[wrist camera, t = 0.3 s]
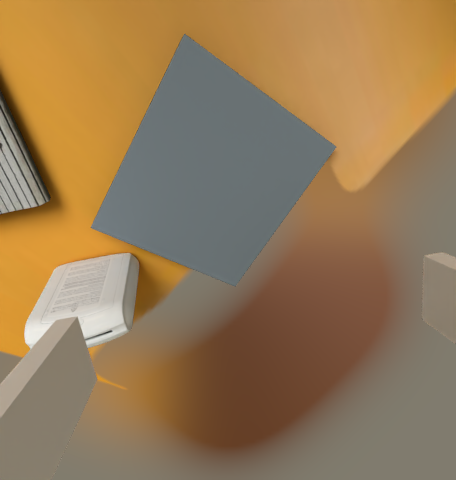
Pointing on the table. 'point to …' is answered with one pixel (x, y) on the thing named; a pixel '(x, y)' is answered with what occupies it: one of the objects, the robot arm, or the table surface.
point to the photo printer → (89, 298)
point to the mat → (17, 168)
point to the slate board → (210, 169)
